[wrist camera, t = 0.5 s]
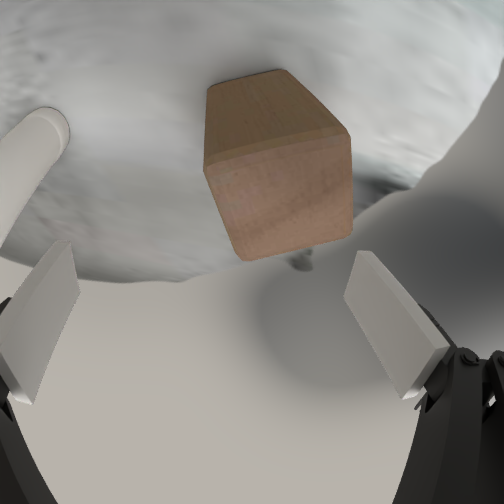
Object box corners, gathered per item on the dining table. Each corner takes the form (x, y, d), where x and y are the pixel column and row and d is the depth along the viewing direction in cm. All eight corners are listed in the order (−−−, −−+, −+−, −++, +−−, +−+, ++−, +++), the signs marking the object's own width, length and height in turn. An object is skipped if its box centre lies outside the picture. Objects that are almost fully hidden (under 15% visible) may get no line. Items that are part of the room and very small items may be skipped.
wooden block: (300, 136, 38) (356, 240, 24) (226, 154, 39) (239, 268, 25) (287, 66, 31) (355, 129, 17) (204, 85, 32) (198, 166, 18)
